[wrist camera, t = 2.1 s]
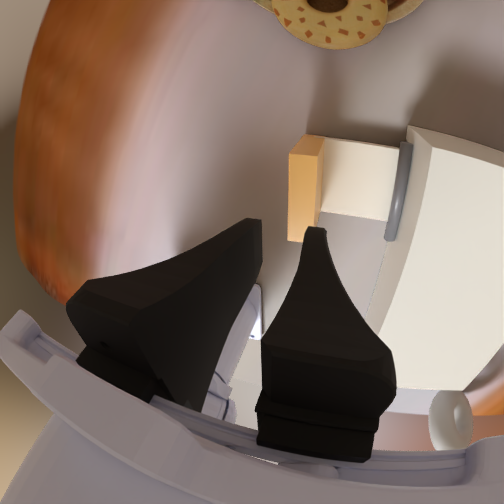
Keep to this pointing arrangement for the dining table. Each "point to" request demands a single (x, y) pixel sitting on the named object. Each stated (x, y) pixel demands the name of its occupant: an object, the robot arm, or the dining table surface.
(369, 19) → the toy food set
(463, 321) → the cream rectangular block
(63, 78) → the dining table surface
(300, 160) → the cream block orange end
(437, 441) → the donut
